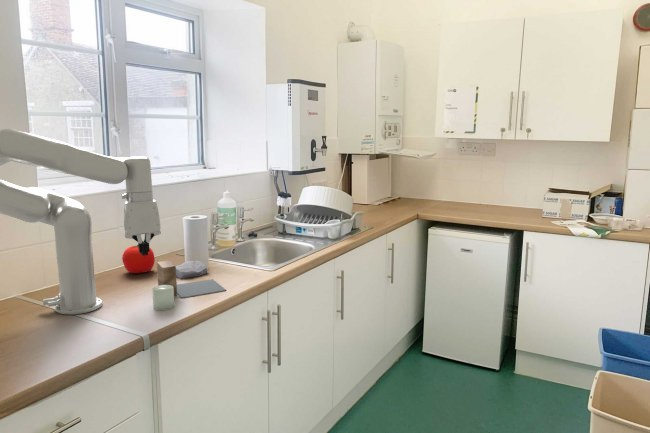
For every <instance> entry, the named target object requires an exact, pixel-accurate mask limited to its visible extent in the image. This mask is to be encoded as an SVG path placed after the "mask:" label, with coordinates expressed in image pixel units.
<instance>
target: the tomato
mask: <svg viewBox="0 0 650 433" xmlns="http://www.w3.org/2000/svg"><path fill="white" fill-rule="evenodd" d="M149 249H150V252H148V255H145V256H142V255H141V253H139V247H138V244H137V245H131V246H129V247H127V248H126V249H125V250H124V251H123V253H122V257H121V260H122V263H123V267H124V268H125V270H126V271H128V272H129V273H131V274H144V273H146V272H150V270H152V269H153V268H154V265H155V263H156V262H155V258H156V257H155V254H154V250H153V249H152V248H151V247H150V246H149Z"/></svg>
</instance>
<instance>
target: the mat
mask: <svg viewBox="0 0 650 433" xmlns="http://www.w3.org/2000/svg"><path fill="white" fill-rule="evenodd" d="M222 292H227V289H226V288H224V287H223V286H222V285H220V284H219V283H218V282H217V281H216V280H214V279H212V278H211V279H206V280H205V279H204V280H199V281H191V282H185V283H179V284H178V283H177V297H179V298H180V299H186V298H193V297H198V296H204V295H209V294H216V293H222Z"/></svg>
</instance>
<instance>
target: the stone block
mask: <svg viewBox="0 0 650 433" xmlns="http://www.w3.org/2000/svg"><path fill="white" fill-rule="evenodd" d="M175 266H176V278H178V279H187V278H191V277H193V278H194V277H199V276H203V275H205V274H207V273H208V268H207V266H206V263H203V262H202V261H199V260H196V261H190V260H187V261H184V262H183V263H181V264H179V265H175Z"/></svg>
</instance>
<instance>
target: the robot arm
mask: <svg viewBox="0 0 650 433" xmlns="http://www.w3.org/2000/svg"><path fill="white" fill-rule="evenodd" d="M10 162H13V163H19V164H23V165H28V166H32V167H36V168H39V169H40V168H41V169H44V170H47V171H53V172H57V173H60V174H65V175H72V176H75V177H80V178H83V179H87V180H92V181H96V182H101V183H105V184H108V185H109V184H110V185H120V183H123V182H124V181H125V189H126V190H125V191H126V192H125V193H124V194H121V199H122V200H124V199H125V202H124V209H123V220H124V221H123V226H124V231H125V232H124V238H125V239H131V240H134V241H136V242H137V243H138V244H137V245H138V247H139V253H141V255H142V256H145V255H148V252H150V249H149V247H150V242H151V241H152V239H153V238H154V237H156V236H159V235H161V234H162V233H161V219H160V213H159V207H158V203H157V201H156V200H155V199H154V195H153V194H154V193H153V182H152V168H151V160H150V159H149V157H147V156H130V157H114V156H107V155H103V154H100V153H96V152H93V151H88V150H86V149H81V148H79V147H77V146H74V145H72V144H69V143H66V142H63V141H59V140H56V139H52V138H48V137H44V136H40V135H36V134H33V133H29V132H25V131H22V130H19V129H18V130H17V129H14V128H2V129H0V166H3V165H6V164H8V163H10ZM0 214H2V215H4V216H7V217H11V218H14V219H17V220H20V221H22V222H25V223H33V224H34V223H43V224H46V225H49V226H53V229H54V240H55V241H54V242H55V254H56V262H57V263H56V264H57V272H58V283H59V292H58V295H56V296H54V297H51V298H50V297H49V298H43V299H42V304H43V306H48V307H53V306H55V312H57V313H58V314H61V315H80V314H84V313H85V314H86V313H89V312H90V313H91V312H93V311H96V310H98V309H99V308H101V307H102V306H103V300H102V299H101V298H99V297H97V291H96V279H95V276H96V275H95V267H94V264H95V263H94V253H93V236H92V233H93V232H92V231H93V226H92V218H91V214H90V212H89V211H88V209H87V208H86V206H84V205H83V204H82V203H81V202H79V201H78V200H75V199H72V198H69V197H66V196H63V195H60V194H57V193H55V192H52V191H50V190H47V189H43V188H41V187H36V186H26V187H23V186H19V185H17V184H14V183H10V182H8V181H5V180H2V179H0ZM142 235H144V238H142Z"/></svg>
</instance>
